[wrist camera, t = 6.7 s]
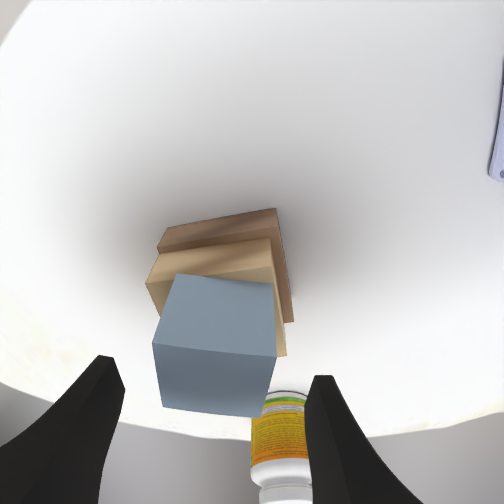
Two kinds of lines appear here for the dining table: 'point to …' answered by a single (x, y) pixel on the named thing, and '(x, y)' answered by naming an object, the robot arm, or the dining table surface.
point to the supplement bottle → (281, 451)
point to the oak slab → (220, 272)
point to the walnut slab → (235, 231)
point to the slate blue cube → (216, 346)
